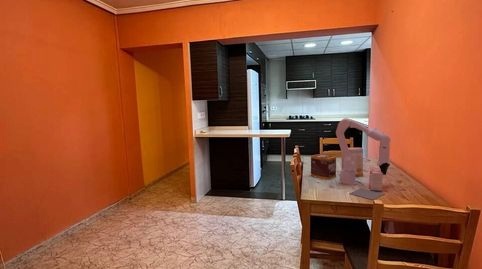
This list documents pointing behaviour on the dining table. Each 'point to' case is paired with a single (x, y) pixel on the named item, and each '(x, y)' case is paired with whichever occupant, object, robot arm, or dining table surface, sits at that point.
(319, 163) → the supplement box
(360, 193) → the mat
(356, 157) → the cracker box
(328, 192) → the dining table surface
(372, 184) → the supplement box
